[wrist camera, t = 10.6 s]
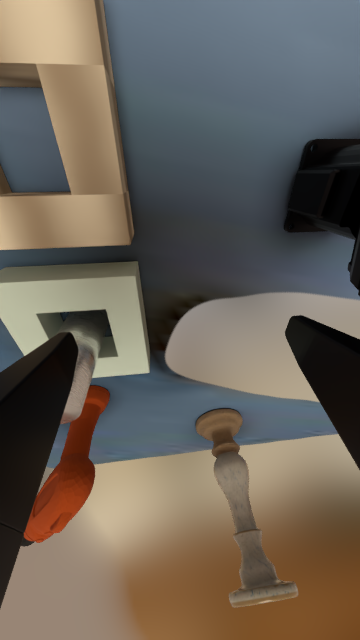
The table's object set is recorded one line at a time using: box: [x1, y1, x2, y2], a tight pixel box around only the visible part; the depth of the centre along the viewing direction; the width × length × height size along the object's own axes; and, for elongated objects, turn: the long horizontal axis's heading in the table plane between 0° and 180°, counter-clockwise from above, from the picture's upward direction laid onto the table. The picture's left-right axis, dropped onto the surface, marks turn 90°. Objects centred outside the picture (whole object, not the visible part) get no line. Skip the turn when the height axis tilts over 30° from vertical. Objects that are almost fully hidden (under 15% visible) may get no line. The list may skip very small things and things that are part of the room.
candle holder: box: [196, 409, 298, 607], centre depth 31 cm, size 9×9×20 cm
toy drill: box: [21, 385, 110, 546], centre depth 27 cm, size 5×19×15 cm, turn 140°
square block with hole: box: [0, 261, 150, 378], centre depth 21 cm, size 12×12×4 cm
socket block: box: [0, 0, 134, 250], centre depth 13 cm, size 12×12×4 cm
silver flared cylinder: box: [57, 309, 109, 424], centre depth 18 cm, size 4×4×11 cm
